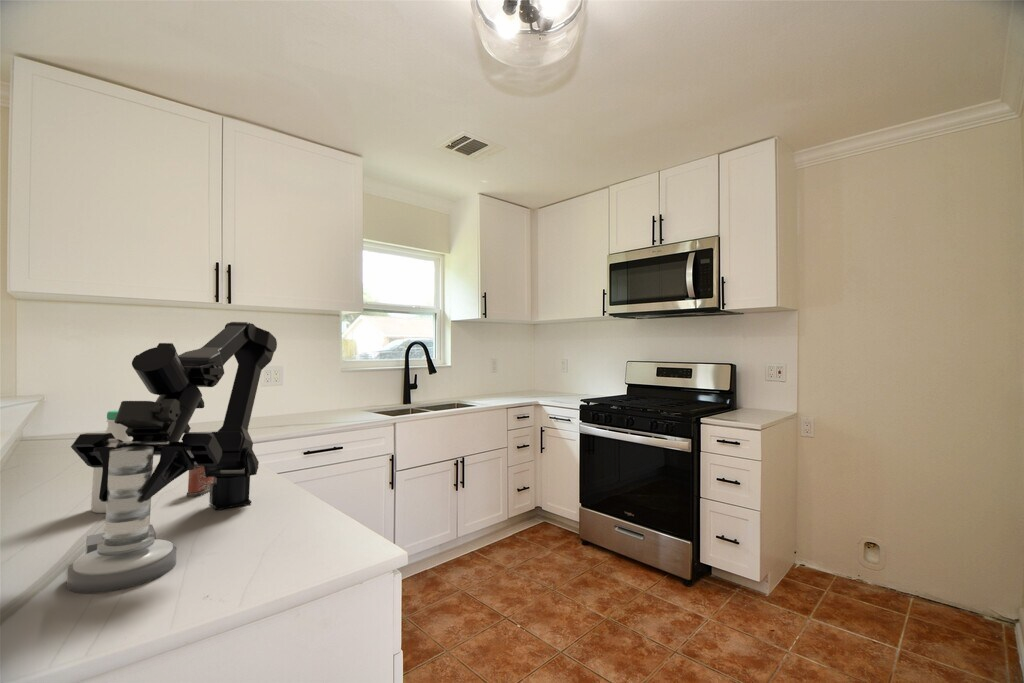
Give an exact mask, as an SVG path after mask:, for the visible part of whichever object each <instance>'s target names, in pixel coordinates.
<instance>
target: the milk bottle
mask: <svg viewBox="0 0 1024 683" xmlns="http://www.w3.org/2000/svg"><path fill="white" fill-rule="evenodd" d="M118 410H119V409H118ZM118 410H116V409H115V410H108V411H107V412H106V419H107V420H106V422H107V427H106V430H105V431H104V433H112V435H113V436H114V437H115V438H116V439H120V440H122V441H132V440H133V437H129V436H128V435H127V434H126V432H125V431H126V430H127V428H128V427H126V426H124V425H122V424H120V423H119V424H116V423H115V422H114V421H115V419H116V416H117V413H118ZM102 470H103V469H102V467H99V468H93V471H92V472H93V473H92V488H91V490H92V491H91V505H90V506H91V508H90V510H91V511H92V512H93V513H96V514H106V502H107V501H105V502H102V501H101V500H100V499H99V494H100V487H101V480H102Z"/></svg>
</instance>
